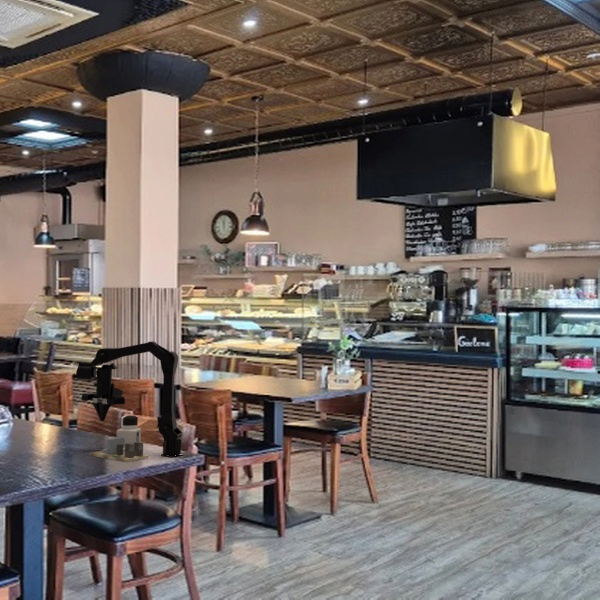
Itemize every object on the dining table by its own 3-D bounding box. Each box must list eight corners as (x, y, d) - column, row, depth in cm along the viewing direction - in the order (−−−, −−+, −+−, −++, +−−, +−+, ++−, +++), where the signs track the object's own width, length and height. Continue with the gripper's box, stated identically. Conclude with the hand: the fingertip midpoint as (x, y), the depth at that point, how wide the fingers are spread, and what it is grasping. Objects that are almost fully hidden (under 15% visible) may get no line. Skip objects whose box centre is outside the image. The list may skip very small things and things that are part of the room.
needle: (122, 455, 292) (123, 444, 292) (119, 455, 291) (119, 444, 291) (119, 454, 293) (120, 443, 293) (116, 455, 292) (116, 444, 292)
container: (140, 447, 322) (141, 415, 323) (134, 450, 315) (136, 417, 315) (122, 446, 323) (123, 414, 323) (115, 449, 315) (117, 416, 316)
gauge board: (148, 458, 298) (148, 442, 298) (126, 461, 289) (126, 445, 289) (111, 451, 309) (112, 436, 309) (89, 455, 300) (90, 439, 300)
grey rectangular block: (135, 453, 299) (135, 439, 299) (116, 456, 291) (116, 441, 292) (120, 451, 304) (121, 436, 304) (101, 454, 296) (102, 439, 296)
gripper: (136, 381, 309) (134, 421, 308) (103, 378, 319) (101, 417, 319) (114, 382, 300) (113, 424, 299) (81, 379, 310) (79, 419, 310)
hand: (102, 421), depth 307 cm, fingers closed
